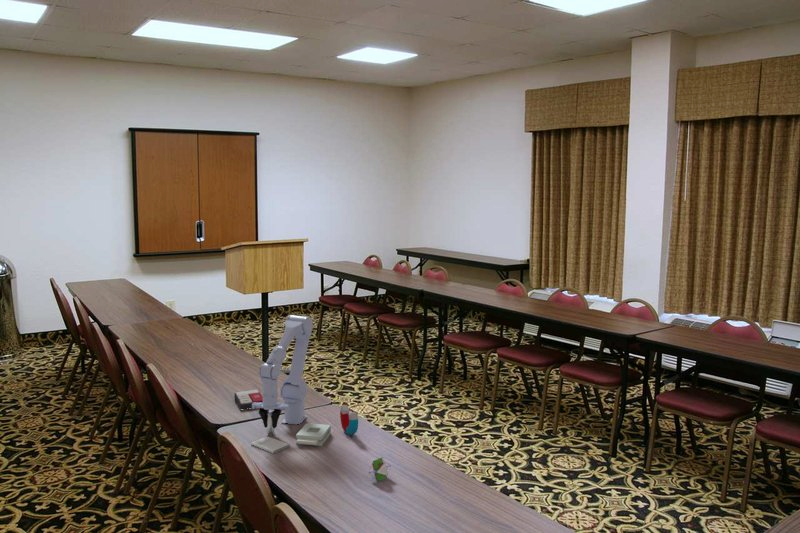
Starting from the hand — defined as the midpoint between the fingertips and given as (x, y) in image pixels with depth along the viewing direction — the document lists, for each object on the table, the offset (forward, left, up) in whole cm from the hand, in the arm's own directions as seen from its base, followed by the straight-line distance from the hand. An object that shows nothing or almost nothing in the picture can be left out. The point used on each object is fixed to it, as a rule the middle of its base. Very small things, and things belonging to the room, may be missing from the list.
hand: (270, 427), depth 246 cm
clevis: (+1, +18, -3) cm, 18 cm away
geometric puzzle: (+28, +50, -3) cm, 57 cm away
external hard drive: (+10, +4, -4) cm, 12 cm away
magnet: (-7, +30, -3) cm, 31 cm away
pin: (0, 0, -3) cm, 3 cm away
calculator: (-31, -22, -4) cm, 39 cm away
